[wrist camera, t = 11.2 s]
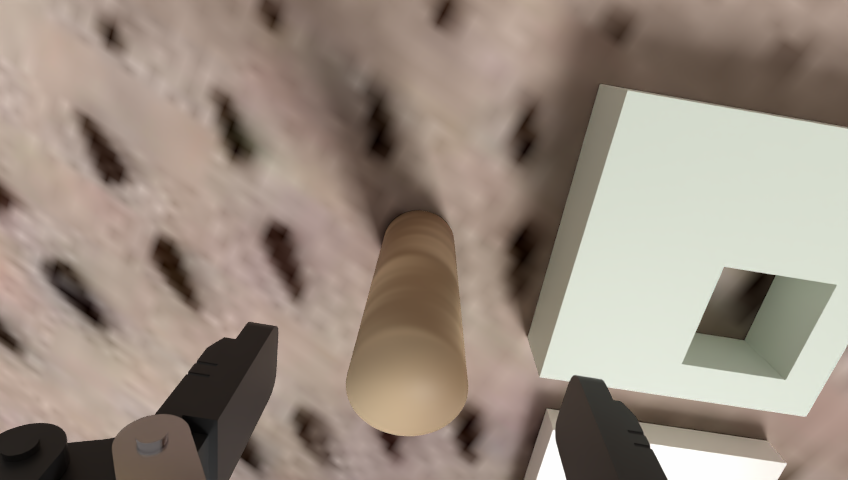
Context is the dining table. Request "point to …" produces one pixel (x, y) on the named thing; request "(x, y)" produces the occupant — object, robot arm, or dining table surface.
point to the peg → (411, 332)
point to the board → (675, 454)
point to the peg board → (698, 253)
